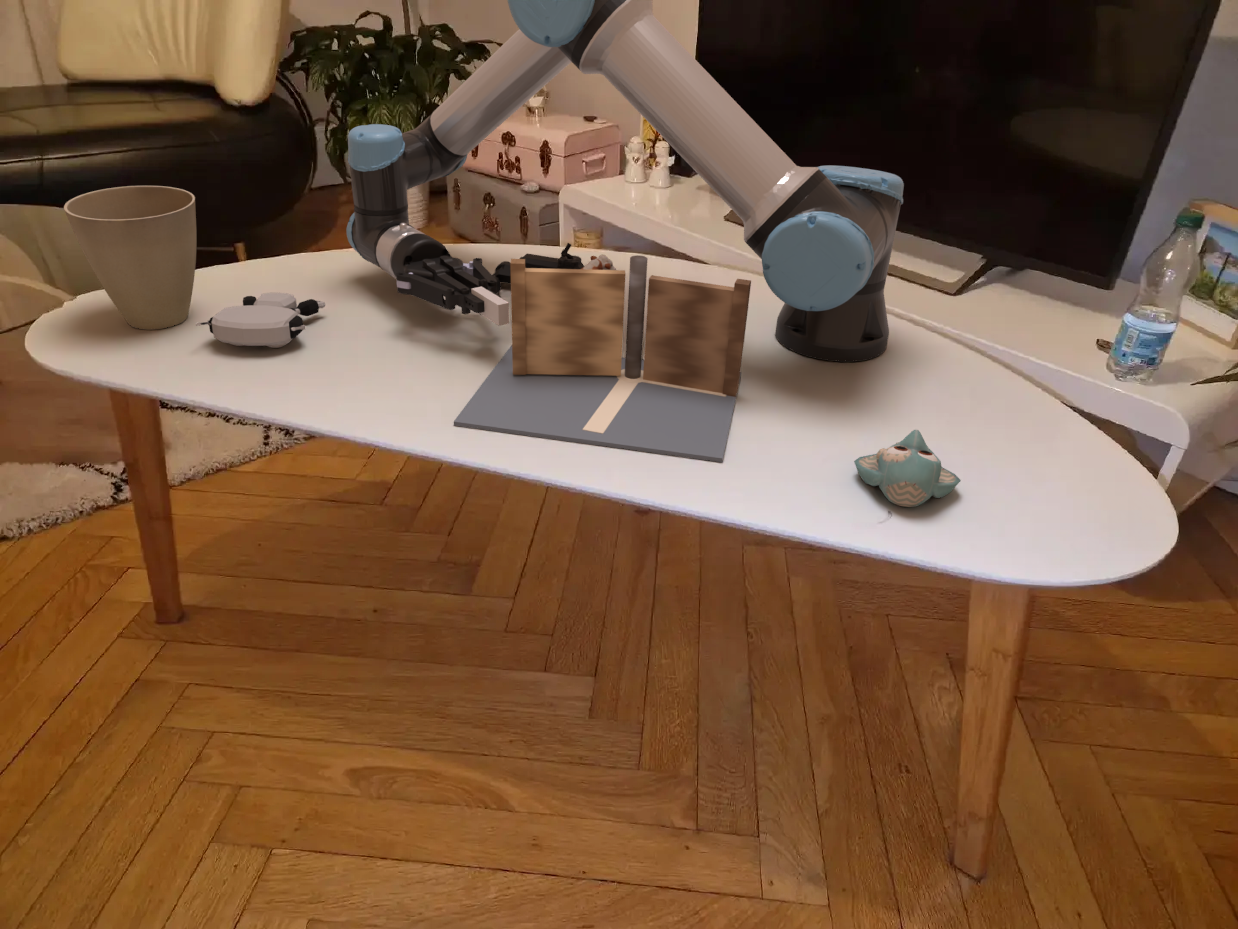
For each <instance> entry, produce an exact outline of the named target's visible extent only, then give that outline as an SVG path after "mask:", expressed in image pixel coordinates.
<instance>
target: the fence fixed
mask: <svg viewBox="0 0 1238 929" xmlns="http://www.w3.org/2000/svg"><path fill="white" fill-rule="evenodd" d="M629 258H630V259H629V278H628V295H627V296H628V299H627V318H626V338H625V339H626V340H625V356H624V358H625V377H627V378H630V379H637V378H640V377H641V363H642V360H644V370H643V379H644V380H649V381H655V382H660V383H666V384H672V385H678V386H683V387H689V388H695V389H700V390H706V391H712V392H718V393H722V394H725V395H727V396H733V397H736V398H737V396H738V393H739V389H740V388H739V386H740V382H739V380H740V381H741V377H740V372H742V371H741V370H742V360H743V353H744V345H745V336H746V328H747V322H748V321H747V319H748V312H749V301H750V294H751V286H752V280H749V279H745V278H744V279H742V278H737V279H736V280H735V282H734V286H728V285H721V284H715V283H708V282H700V281H694V280H686V279H680V278H675V277H667V276H660V275H653V274H652V275H650V277H649V278H648V287H647V274H648V273H647V272H648V257H646V256H645V255H632V256H630V257H629ZM647 288H648V289H647ZM646 290H647V293H646ZM646 295H647V307H646ZM646 309H647V310H646ZM645 310H646V311H645ZM645 312H646V320H645ZM645 323H646V324H645ZM644 324H645V325H644ZM644 328H645V337H644ZM643 341H644V342H643ZM643 343H644V346H643ZM643 347H644V356H643ZM643 357H644V359H643ZM736 395H737V396H736Z"/></svg>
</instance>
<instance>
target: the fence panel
mask: <svg viewBox="0 0 1238 929" xmlns="http://www.w3.org/2000/svg"><path fill="white" fill-rule="evenodd" d="M510 266H511V284H510V294H511V295H510V299H511V300H510V301H511V302H510V305H511V306H510V307H511V345H512V362H513V374H515V375H526V374H556V375H612V376H621V361H622V356H623V336H624V313H625V296H626V295H625V294H626V270H625V269H624V270H623V269H621V270H620V269H618V270H617V269H616V270H586V269H545V268H525V259H519V258H510Z"/></svg>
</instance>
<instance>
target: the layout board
mask: <svg viewBox="0 0 1238 929" xmlns="http://www.w3.org/2000/svg"><path fill="white" fill-rule="evenodd" d="M643 370H644V359H642V363H641V377H640V378H637V379H630V378H627V377H625V357H622V361H621V376H612V375H556V374H526V375H515V374H513V362H512V344H510V346H509V348H508V349H507V350H506V352H504V354H503V356H502V357H501V358H500V359H499V360H498V362H497V364H496V365H495V366H494V368H493V369H492V370H491V372H490V373H489V374H488V375H487V377H486V378H485V379H484V380H483V382H482V383H481V385H480V386H479V387H478V389H477V390H476V391H475V392H474V394H473V395H472V397H471V398H470V399H469V401H468V402H466V404H465V406H464V407H463V408H462V409H461V411H460V412H459V414H458V415H457V416H456V418H455V419H454V421H453V426H455V427H462V428H468V429H469V428H471V429H476V430H485V431H491V432H497V433H506V434H511V435H513V434H514V435H521V436H526V437H527V436H528V437H534V438H535V437H536V438H542V439H549V440H550V439H551V440H557V441H564V442H570V443H578V444H586V445H593V446H599V447H600V446H601V447H606V446H607V447H608V448H614V449H615V448H616V449H621V448H624V449H623V450H628V449H630V451H635V450H637V451H636V452H643V451H644V452H645V453H650V452H652V454H658V455H664V454H667V455H666V456H672V455H675V456H674V457H679V456H681V458H686V457H689V458H688V459H693V458H694V459H695V460H701V461H708V460H710V462H715V461H716V462H717V463H723V462H722V461H724V456H725V452H726V447H727V443H728V437H729V432H730V429H731V423H732V418H733V416H734V415H733V414H734V411H735V405H736V400H737V396H738V394H737V395H736V397H733V396H727V395H725V394H722V393H718V392H712V391H706V390H700V389H695V388H689V387H683V386H678V385H672V384H666V383H660V382H655V381H649V380H644V379H643ZM741 376H742V371H740V378H741ZM740 381H741V379H740V380H739V383H740ZM644 452H643V453H644Z"/></svg>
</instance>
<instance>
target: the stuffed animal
mask: <svg viewBox="0 0 1238 929" xmlns="http://www.w3.org/2000/svg"><path fill="white" fill-rule="evenodd" d="M853 462H854V465H855V467H856V470H857V473H858V475H859V476H860V477H861V479H862V481H863V482H864V483H865V485H870V486H872V487H877V486H878V487H879V489H880V490H881V492H882V494H883V495H884V496H885V498H886V499H887V500H888V501H889V502H891V503H892V504H894V505H895V506H896V505H897V506H900V507H902V508H903V507H905V508H913V507H914V508H915V507H918V506H920V505H922V504H924V503H925V502H927V501H928V500H929V499H931V497H933V498H936V499H937V498H940V497H941V498H940V499H942V498H944V497H945V496H947V495H948V494H950V493H951V492H952V491H953V490H954V489H955V488H956V487H957V485H958V484H960V482H961V480H962V479H960V478H959V477H958V476H957V475H956V473H954V472H952V471H950V470H948V469H947V468H945V467H943V466H942V462H941V459H940V458H939V457H938V456H937V455H936V454H935V453H934V452H933V450H931V448H929V446H928V445H927V444H926V441H925V438H924V437H923V435H922V433H921V432H920V430H919V429H913V430H912V431H911V432H910V433H909V434H907V435H906V436H905V437H904V438H903V439H902V440H901V441H899V442H896V443H895V444H892V445H891V446H889V447H887V448H885V447H881V448H880V449H879V450H878V452H877V453H873V454H869V455H868V454H867V455H863V456H859V457H858V458H856V459H855V460H854V461H853Z"/></svg>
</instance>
